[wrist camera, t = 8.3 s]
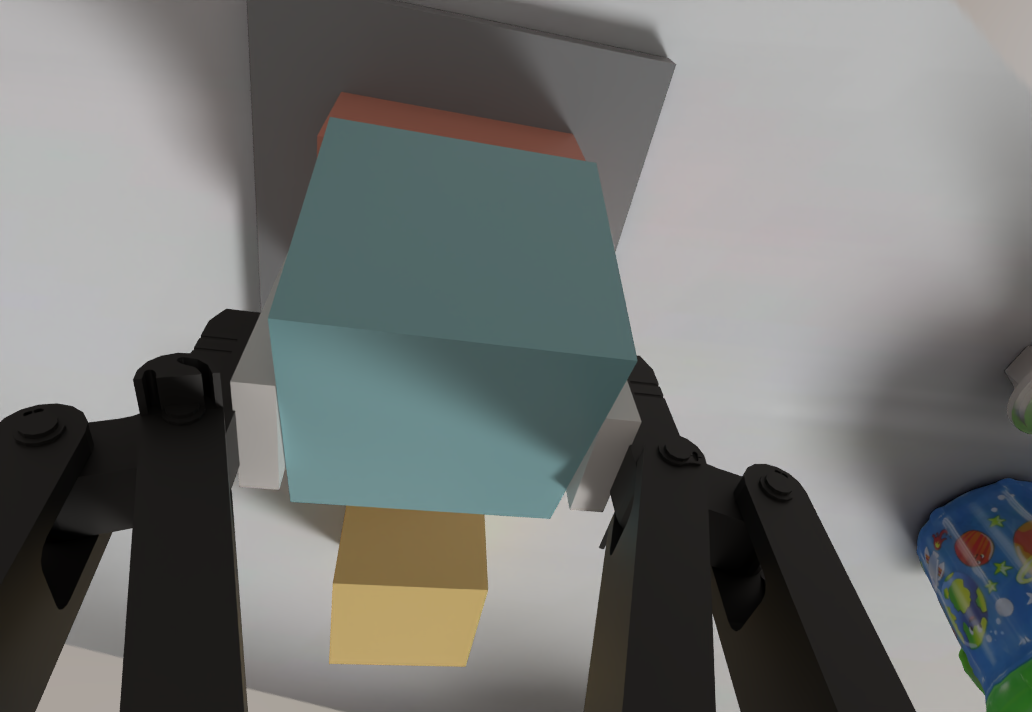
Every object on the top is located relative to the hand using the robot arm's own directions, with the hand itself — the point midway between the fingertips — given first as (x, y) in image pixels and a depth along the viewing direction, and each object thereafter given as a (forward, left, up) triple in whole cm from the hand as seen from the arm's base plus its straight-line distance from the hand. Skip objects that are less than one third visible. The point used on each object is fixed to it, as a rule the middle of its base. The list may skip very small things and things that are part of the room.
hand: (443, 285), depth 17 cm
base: (0, 0, -5) cm, 5 cm away
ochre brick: (-14, -8, -5) cm, 17 cm away
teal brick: (+1, +1, 0) cm, 2 cm away
